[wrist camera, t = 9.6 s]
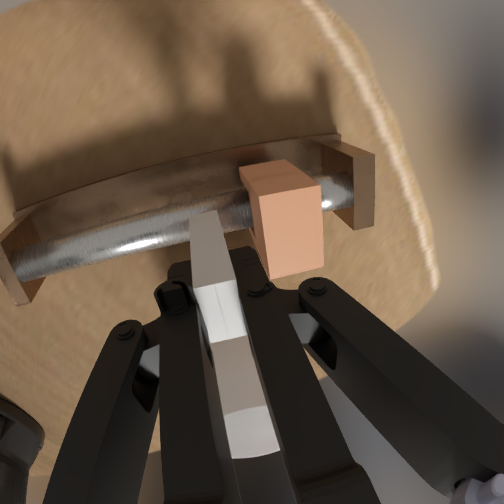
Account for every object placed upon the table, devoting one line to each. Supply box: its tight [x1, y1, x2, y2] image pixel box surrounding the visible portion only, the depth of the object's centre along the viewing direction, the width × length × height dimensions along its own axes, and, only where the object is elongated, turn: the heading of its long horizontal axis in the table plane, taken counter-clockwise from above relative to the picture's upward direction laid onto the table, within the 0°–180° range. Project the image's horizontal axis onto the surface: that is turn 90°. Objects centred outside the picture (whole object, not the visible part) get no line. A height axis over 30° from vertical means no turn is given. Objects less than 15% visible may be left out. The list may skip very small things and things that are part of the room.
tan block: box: [239, 159, 324, 280], centre depth 17 cm, size 3×5×6 cm, turn 8°
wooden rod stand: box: [0, 133, 375, 306], centre depth 19 cm, size 27×6×6 cm, turn 98°
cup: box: [209, 335, 280, 458], centre depth 24 cm, size 9×9×12 cm
